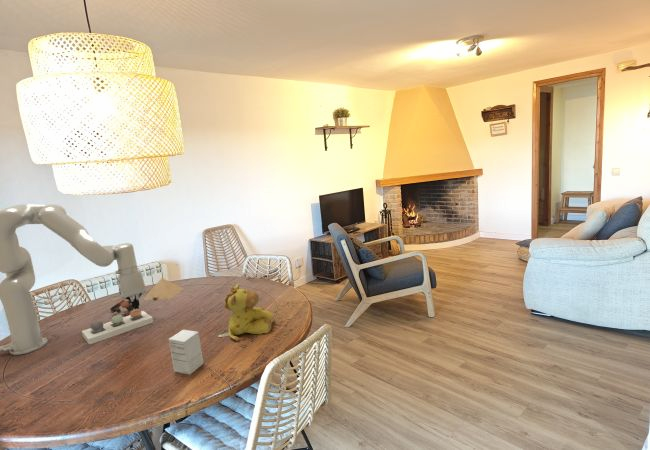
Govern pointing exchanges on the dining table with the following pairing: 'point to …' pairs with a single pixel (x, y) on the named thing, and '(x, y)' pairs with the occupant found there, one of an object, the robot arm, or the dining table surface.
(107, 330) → the panel
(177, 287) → the model pyramid
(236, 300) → the giraffe plush
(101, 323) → the button charcoal
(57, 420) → the dining table surface
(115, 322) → the button sage
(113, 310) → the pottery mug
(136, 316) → the button terracotta
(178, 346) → the supplement box
